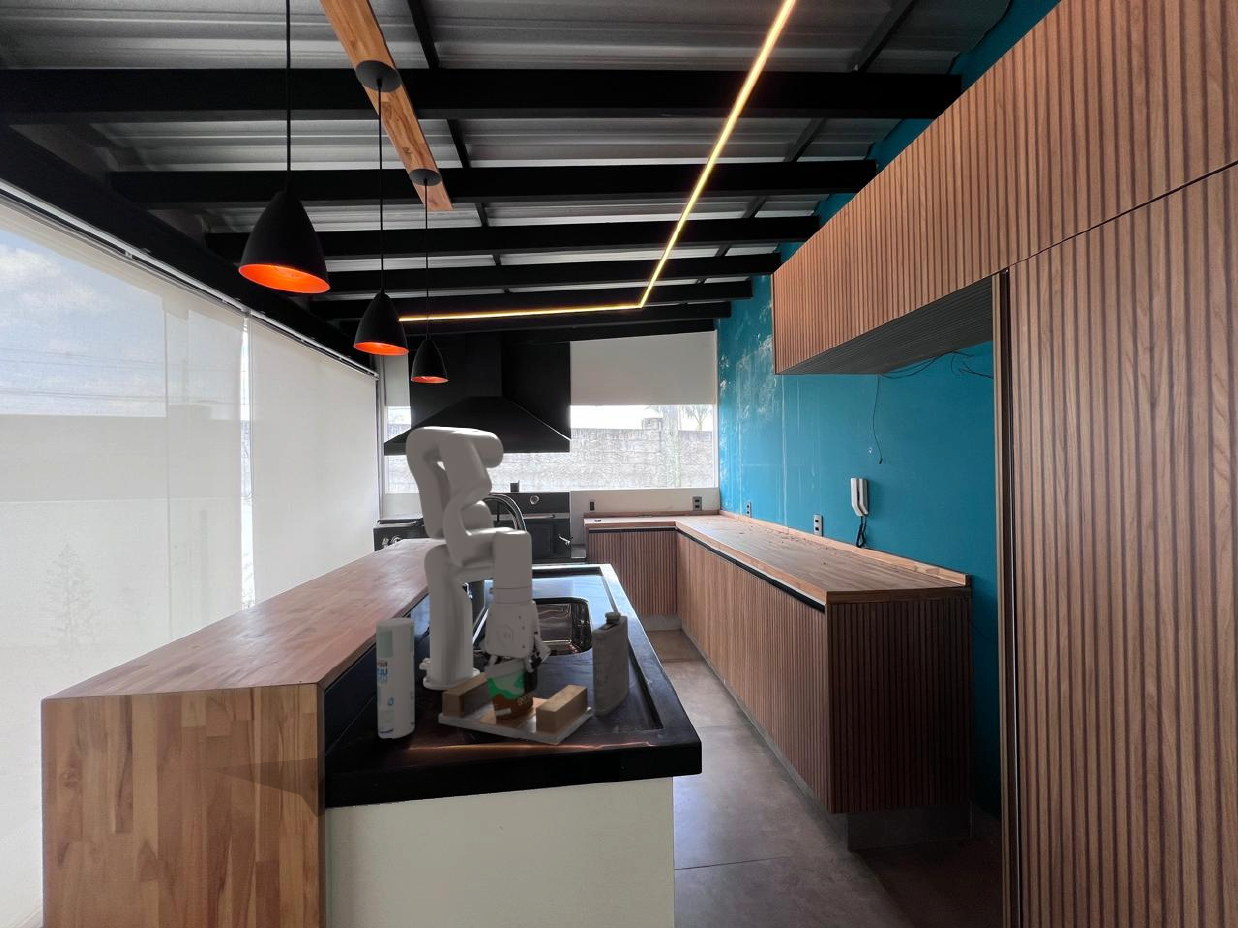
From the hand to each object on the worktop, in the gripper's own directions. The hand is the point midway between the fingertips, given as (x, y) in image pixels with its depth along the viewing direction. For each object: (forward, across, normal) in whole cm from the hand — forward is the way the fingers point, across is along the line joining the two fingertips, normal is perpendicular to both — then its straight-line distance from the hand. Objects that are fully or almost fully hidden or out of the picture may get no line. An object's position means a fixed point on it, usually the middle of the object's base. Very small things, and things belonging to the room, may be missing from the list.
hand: (514, 687), depth 104 cm
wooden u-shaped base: (+6, 0, 0) cm, 6 cm away
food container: (+4, +2, 0) cm, 4 cm away
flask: (+6, +14, +14) cm, 21 cm away
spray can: (+6, -18, -12) cm, 22 cm away
